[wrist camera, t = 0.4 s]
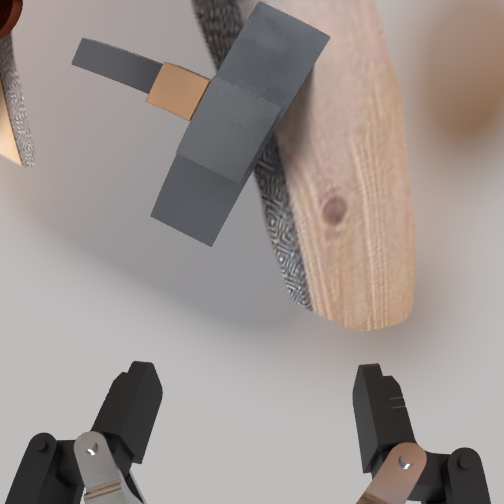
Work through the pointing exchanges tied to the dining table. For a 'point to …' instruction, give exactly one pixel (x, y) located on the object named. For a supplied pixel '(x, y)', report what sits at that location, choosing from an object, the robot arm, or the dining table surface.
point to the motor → (9, 15)
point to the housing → (236, 121)
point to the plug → (145, 76)
